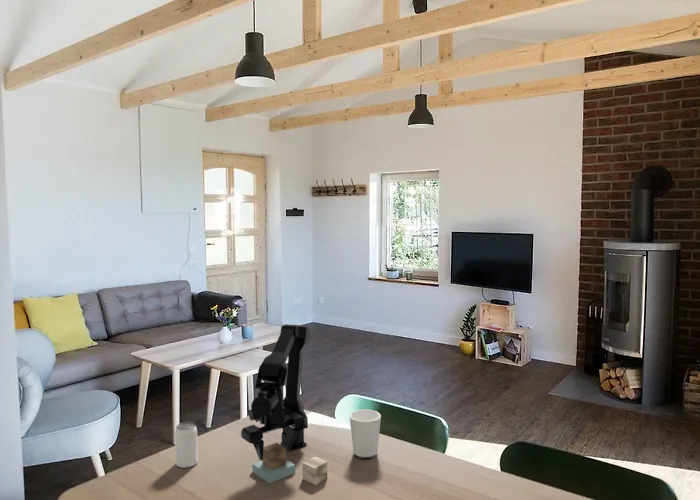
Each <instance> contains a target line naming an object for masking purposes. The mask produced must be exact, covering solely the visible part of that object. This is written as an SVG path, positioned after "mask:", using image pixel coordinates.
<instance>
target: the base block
mask: <svg viewBox="0 0 700 500" xmlns="http://www.w3.org/2000/svg"><path fill="white" fill-rule="evenodd" d="M251 471H252V473H253V474H255V475H257V476H258V477H259V478H260V479H262V480H264V481H265V482H266V483H268V484H272V483H274V482H277V481H278V480H281V479H283V478H286V477H289V476H292V475H294V474H295V473H296V464H294V463H293V462H292V461H289V460H288V459H287V458H286V465H283V466H281V467H278V468H276V469H273V470H271V469H269V468H268V467H266V466H265V465H264V464H263V462H262V461H261V460H259V461H256V462H253V463H252V470H251Z"/></svg>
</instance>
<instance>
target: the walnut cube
mask: <svg viewBox="0 0 700 500" xmlns="http://www.w3.org/2000/svg"><path fill="white" fill-rule="evenodd" d="M286 451H287V448H285V447H284V446H282V445H281V444H280V443H278V442H274V443H271V444H268V445H266V446H264V449H263V460H262V462H263V464H264V465H265V466H266V467H268V468H269V469H271V470H273V469H276V468H278V467H281V466H283V465H286V459H287V457H286V456H287V454H286V453H287V452H286Z"/></svg>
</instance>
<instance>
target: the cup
mask: <svg viewBox="0 0 700 500" xmlns="http://www.w3.org/2000/svg"><path fill="white" fill-rule="evenodd" d="M381 419H382V414H380V412H378V411H376V410H374V409H373V410H372V409H366V408H365V409H363V408H361V409H357V410H355V411H352V412H350V414H349V421H350V422H349V423H350V433H351V442H352V452H353V453H352V454H353V455H354V456H357V458H359V459H360V460H364V459H365V458H369V459H374V458H375V456H376V455H377V454H378V449H379V440H380V427H381Z"/></svg>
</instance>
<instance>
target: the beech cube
mask: <svg viewBox="0 0 700 500" xmlns="http://www.w3.org/2000/svg"><path fill="white" fill-rule="evenodd" d="M327 479H328V461H326V460H323V459H321V458H319V457H317V456H313V457H311V458H309V459H307V460H305V461H303V462H302V480H304V481H306V482H307V483H310V484H312V485H314V486H316V485H318V484H320V483H321V482H324V481H325V480H327Z"/></svg>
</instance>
